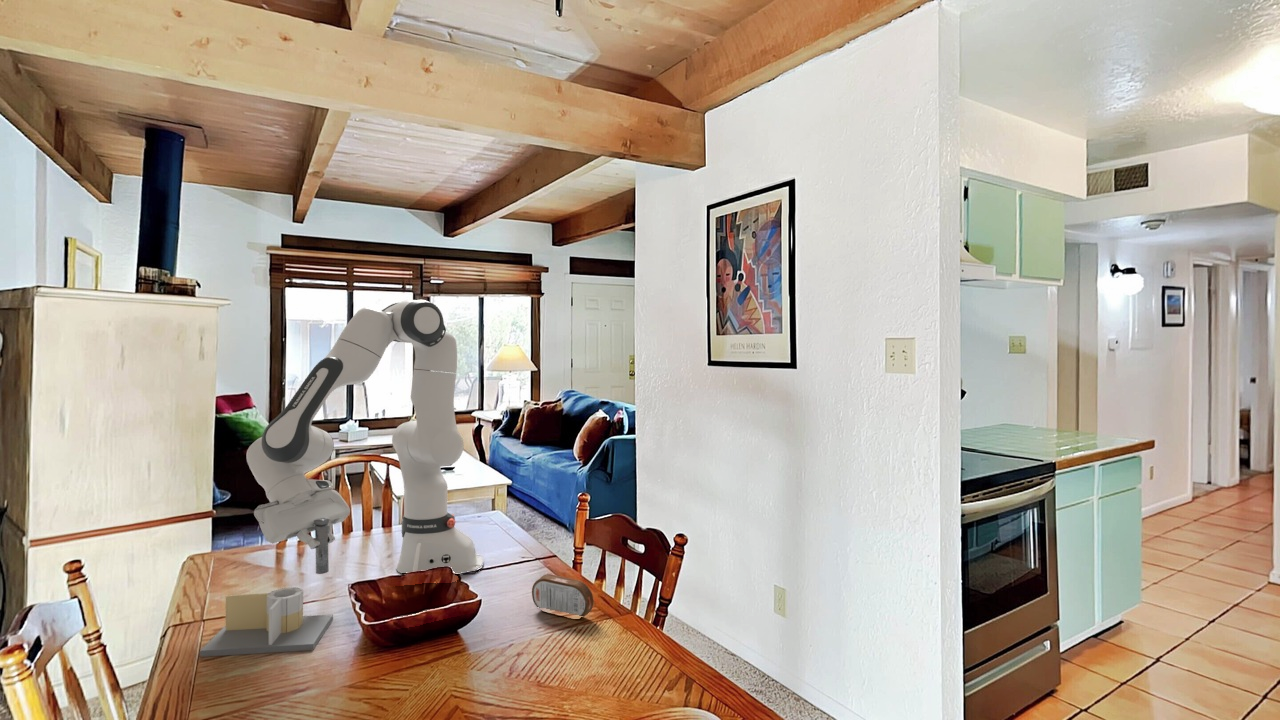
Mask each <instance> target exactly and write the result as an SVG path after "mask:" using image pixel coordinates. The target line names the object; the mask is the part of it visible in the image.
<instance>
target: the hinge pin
mask: <svg viewBox="0 0 1280 720" xmlns="http://www.w3.org/2000/svg"><path fill="white" fill-rule="evenodd" d="M328 523H329V518H318V519H315V520H314V525H315V531H314V533H315V534H314V535H315V537H314V538H318V541H320V545H319V546H318V547H317V548H315V574H317V575H323V574H326V573H328V572H329V569H330V568H329V544H328Z"/></svg>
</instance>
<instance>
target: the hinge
mask: <svg viewBox="0 0 1280 720" xmlns="http://www.w3.org/2000/svg"><path fill="white" fill-rule="evenodd" d="M333 620H334V614H322V615H321V614H318V615H316V614H315V615H304V590H303V589H302V588H300V587H297V586H296V587H292V586H291V587H282V588H278V589H274V590H272V591H270V592H268V593H249V594H247V593H246V594H226V596H225V625H224V626H223V627H222V628H221V629H220V630H219V631H218V632H217V633H216V634H215V635H214V636H213V637H212V638H211V639H210V640H209V641H208V642H207V643H206V644H205V645H204V646H203V647H202V648H201V649H200V650H199V658H204V657H205V658H207V657H223V656H225V657H226V656H237V655H240V656H241V655H253V654H255V655H256V654H270V653H272V654H273V653H286V652H287V653H288V652H303V651H314V649H315V648H316V647H317V645H318V643H319V642H320V640H321V639H322V638H323V636H324V634H325V633H326V631H327V630H328V628H329V626H330V625H331V624H332V622H333Z"/></svg>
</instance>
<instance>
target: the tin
mask: <svg viewBox="0 0 1280 720" xmlns="http://www.w3.org/2000/svg"><path fill="white" fill-rule="evenodd" d="M531 588H532V589H531V596H532V600H533V603H534V605H535V607H536V608H537V607H539V608H546V609H550V610H555V611H560V612H566V613H569V614H575V615H579V616H584V617H585V616H587V615H588V613H589V612H590V613H591V612H592V609H593V607H594V595H593V593H592V590H591V588H590V587H589V586H588V585H587V584H586V583H585V582H583V581H582V580H579V579H574V578H568V577H565V576H564V577H563V576H559V575H556V574H551V573H547V574H543V575H542V576H540V577H539V578H538V579H537V580H535V582H534V583H533V585H532V587H531ZM590 613H589V614H590Z"/></svg>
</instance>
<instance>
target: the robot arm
mask: <svg viewBox="0 0 1280 720" xmlns="http://www.w3.org/2000/svg"><path fill="white" fill-rule="evenodd" d="M393 342H395V343H396V342H397V343H408V344H409V343H410V344H411V345H412V346H413V347H412V348H413V349H414V357H415V359H414V366H413V373H412V379H411V380H412V382H411V391H410V400H411V403H412V404H413V408H414V411H415V412H414V413H415V418H416V419H414V420H410V421H406V422H403V423H401V424H400V425H398V426H397V427H396V428H395V430H394V432H393V433H392V437H391V442H392V447H393V449H394V450H395V452H396V454H397V458H398V464H399V467H400V471H401V476H402V483H403V515H402V519H401V537H402V543H401V549H400V555H399V559H398V562H397V566H396V571H397V572H398V573H401V574H402V573H406V572H413V571H421V570H427V569H431V568H436V567H444V566H450V567H452V569H453V571H454V572H455V573H461V572H467V571H475V570H477V569H478V568H480V567H481V566H482V564H483V560H484V557H483V555H481V554H480V553H477V552H476V547H475V543H474V540H473V539H472V538H471V537H470V536H469V535H467V534H466V533H464V532H463V531H461V530H460V529H458V528H457V527H456V526H455V525H456V519H455V518H456V517H455V513H452V514H451V513H449V512H448V483H447V481H446V479H445V477H444V474H443V472H442V469H441V467H449V466H452V465H453V464H455V463H457V462H458V460H459V459H460V458H461V456H462V454H463V452H464V440H463V438H462V436H461V435H460V433H459V430H458V426H457V422H456V413H455V405H454V404H455V401H454V400H455V399H454V398H455V388H456V378H457V368H458V348H457V341H456V338H455V337H454V335H453V334H451V333H449V332H447V328H446V326H445V323H444V317H443V314H442V311H441V310H440V308H438V306H437V305H436V304H434V303H433V302H431V301H428V300H425V299H417V300H416V299H409V300H408V299H407V300H403V301H400V302H395V303H392V304H390V305H388V306H387V307H385V308H384V309H379V308H376V307H369V306H368V307H363V308H361V309H359V310H358V311H357V312H356V313H355V314H354V315H353V316H352V318H351V319H350V320H349V321H348V322H347V324H346V326H345V327H344V328H343V329H342V332H341V333H340V334H339V336H338V338H337V339H336V342H335V343H334V345H333V347H332V348H331V350H329V352H328V353H327V355H325V357H324V358H323V359H321V360H320V361H319V362H317V364H316V365H315V366H314V367H313V369H312V370H311V371H310V372H309V374H308V375H307V377H306V378H305V379H304V380H303V382H302V384H301V385H300V386H299V388H298V389H297V391H296V392H295V393H294V395H293V396H292V397H291V399H290V400H289V402H288V404H287V405H286V406H285V408H284V409H283V410H282V411H281V412H280V413H279V414H278V415H277V416H276V417H275V418H273V419H272V420H271V421H270V422H269V423H268V424H267V426H265V429H264V430H263V434H262V436H261V437H259V438H257V439H256V440H255V441H254V442H252V444H250V445H249V447H248V449H247V450H246V458H245V459H246V463H247V465H248V467H249V470H250V471H251V473H252V475H253V476H254V479H255V481H256V482H257V483H258V485H260V486H261V487H262V488H263V489H264V491H265V496H266V498H267V500H268V501H269V502H268V503H265V504H259V505H258V506H257V507H256V508H255V509H254V511H253V515H254V517H255V519H256V520H257V522H258V524H259V527H260V530H261V532H262V535H263V536H264V539H265V540H266V541H267V543H270V544H277V543H279V542H280V543H281V542H282V541H287V540H289V539H292V538H295V537H297V539H298V540H299V541H300V542H302V543H304V544H306V545H308V547H309V549H310V550H314V549H315V550H316V548H317V547H318V546H319V545H320V541H318V538H315V537H313V536H311V535H310V534H309V533H310V532H315V525H314V520H315V519H318V518H329V523H328V545H329V544H331V543H333V542H335V540H336V536H335V535H334V533H333V525H337V524H339V523H342V522H344V521H345V520H346V519H347V518H348V516H349V515H350V514H351V509H350V506H349V504H348V503H347V502H346V501H345V499H344V498H343V497H342V495H341V494H340V493H339V492H338V491H337V490H335V489H333V488H334V484H333V483H332V481H330V480H326V479H325V480H324V479H323V480H322V479H313V478H307V477H306V475H305V474H307V473H309V472H312V471H314V470H316V469H317V468H319V467H321V466H322V465H324V464H325V463H327V462H328V461H329V459H330V458H331V456H332V455H333V453H334V446H335V445H334V439H333V437H332V435H331V434H330V433H328V431H326V430H323V429H322V428H319V427H318V426H314V425H312V423H313V420H314V418H315V417H316V416H317V414H318V412H319V411H320V409H321V408H322V407H323V405H324V404H325V402H326V400H327V399H328V398H329V396H330V395H331V394H332V392H334V391H335V390H336V389H338V388H340V387H343V386H350V385H357V384H360V383H363V382H365V381H367V380H368V379H369V378H370V377H371V376H372V375H373V374H374V372H375V371H376V369H377V367H378V366H379V364H380V361H381V359H382V358H383V356H384V354H385V351H386V349H387V348H388V346H389V345H390V344H392V343H393ZM477 556H481V557H477ZM476 566H478V567H476Z"/></svg>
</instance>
